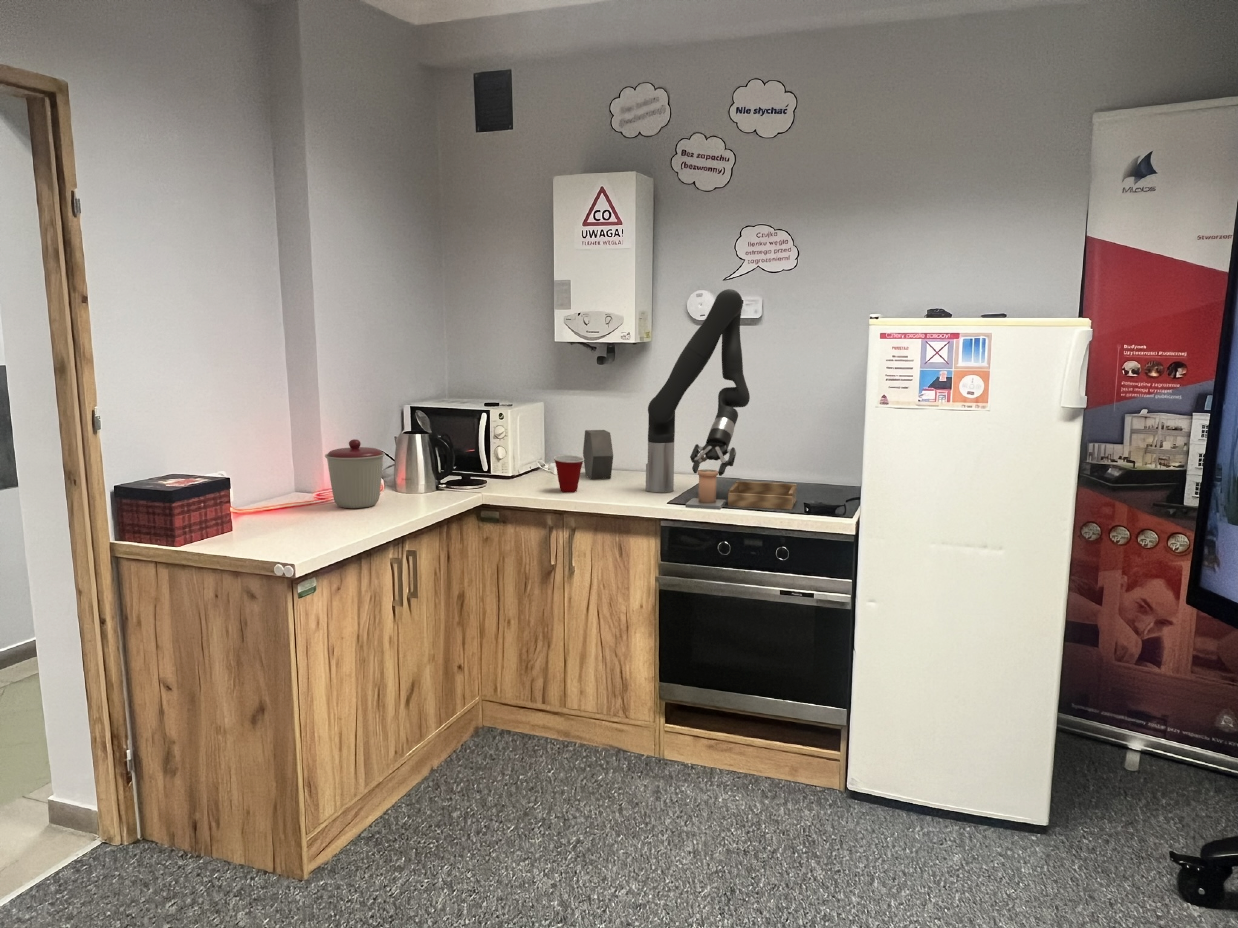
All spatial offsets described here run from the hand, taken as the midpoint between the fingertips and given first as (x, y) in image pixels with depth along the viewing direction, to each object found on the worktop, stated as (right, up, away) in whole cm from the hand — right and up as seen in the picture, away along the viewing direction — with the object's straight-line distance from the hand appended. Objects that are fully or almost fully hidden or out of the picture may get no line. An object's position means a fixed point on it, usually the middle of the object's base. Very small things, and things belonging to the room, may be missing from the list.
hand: (707, 473), depth 280 cm
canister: (-111, -10, -4) cm, 112 cm away
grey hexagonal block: (-36, -2, +55) cm, 66 cm away
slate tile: (0, -10, 0) cm, 10 cm away
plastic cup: (-46, -7, +23) cm, 52 cm away
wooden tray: (+18, -10, +4) cm, 21 cm away
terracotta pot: (0, -9, 0) cm, 9 cm away
